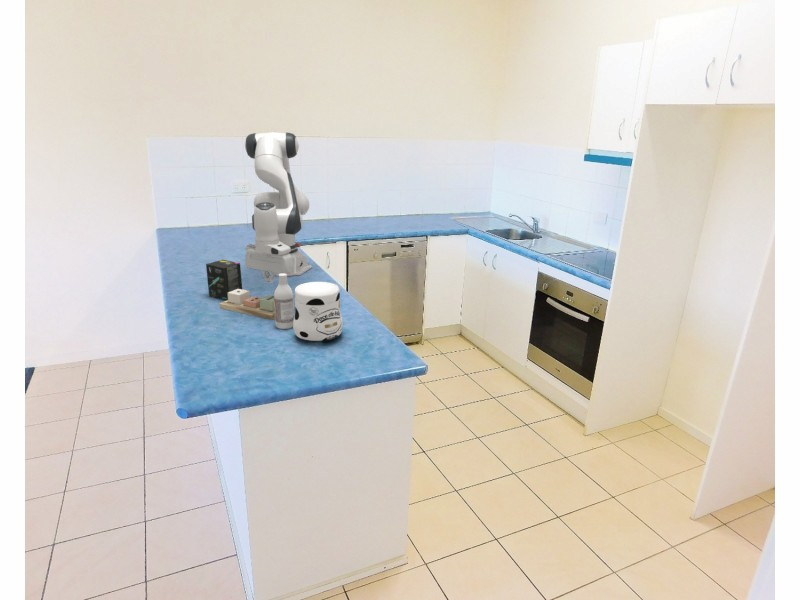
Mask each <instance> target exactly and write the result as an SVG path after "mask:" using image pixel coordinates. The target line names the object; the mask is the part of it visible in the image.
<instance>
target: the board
mask: <svg viewBox="0 0 800 600" xmlns="http://www.w3.org/2000/svg"><path fill="white" fill-rule="evenodd" d="M251 297H252V296H250V298H251ZM218 305H219V309H221V310H226V311H230V312H235V313H239V314H244V315H248V316H253V317H258V318H262V319H267V320H271V321H273V320H275V311H273V312H272V311H267V310H263V309H260V307H259V308H257V309H255V308H251V307H246V306H244V303H243V304H240V305H239V304H235V303H230V302H228V300H227V301H224V300H223V301H222V302H220V303H218Z"/></svg>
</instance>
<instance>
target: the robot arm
mask: <svg viewBox="0 0 800 600" xmlns="http://www.w3.org/2000/svg"><path fill="white" fill-rule="evenodd" d="M299 145H300V144H299V141H298V139H297V136H296V135H295V134H294V133H291V132H276V131H270V132H260V133H256V132H255V133H249V134H248V135H247V136H246V137H245V141H244V148H245V151H246V153H247V156H249V158H251V159H253V160H254V171H255V172H254V173H255V174H256V175H255V176H256V177H258V179H260V180H261V182H264V184H265V183H266V184H267V185H268V186H269V187H271V188H273V189H275V190H276V191H277V192H276V191H275V192H274V191H267V192H261V193H258V194H257V195H256V196H255V197H254V200H253V208H254V210H253V211H254V213H253V214H252V216H251V223H252V225H251V226H252V230H253V231H254V232H255V236H254V244H251V243H249V244H247V245H246V246H245V254H244V265H245V267H246V268H247V269H252V270H253V269H254V270H260V271H261V274H262V276H263V277H264V282H267V283H274V282H275V281H274V280H275V277H277V276H278V277H279V274H281V273H285V274H287V277H291V276H301V275H303V274H305V273H306V272H307V271H310V270H311V269H312V268H313V265H311V264H308V260H307V259H308V258H307V257H306V255H305V254H303V253H302V252H301V251H299V249H298V248H301V245H302V244H301V243H300V242H299V243H298V242H296V235H297V234H298V233H299V232H300V231H301V230H302V227H303V218H302V216H304V215H306V214H307V213H308V211H309V210H310V201H309V198H308V197H307V196H306V195H305V193H303V192H301V191H300V190H299V189H298V188H297V187H296V186H295V184H294V182H293V178H292V174H291V168H290V167H291V166H290V160H289V159H291V158H295V157H296V156H297V155H298V151H299ZM268 272H269V273H268ZM269 275H270V276H269Z"/></svg>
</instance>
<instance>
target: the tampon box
mask: <svg viewBox="0 0 800 600" xmlns="http://www.w3.org/2000/svg"><path fill="white" fill-rule="evenodd" d="M205 266H206V276H207V286H208V296H209V298H213V299H218V300H221V301H223V302H224V301H227V300H228V292H231V291H233V290H236V289H242V290H243V281H242V280H243V279H242V271H241V263H240V262H235V261H230V260H226V259H220V260H216V261H213V262H209V263H206V264H205Z"/></svg>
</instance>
